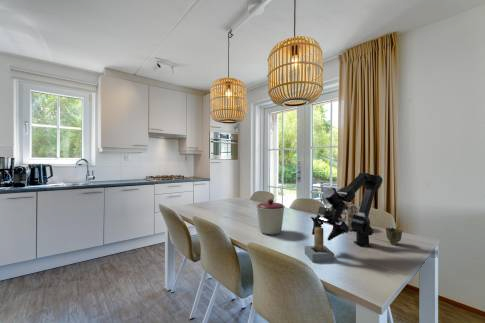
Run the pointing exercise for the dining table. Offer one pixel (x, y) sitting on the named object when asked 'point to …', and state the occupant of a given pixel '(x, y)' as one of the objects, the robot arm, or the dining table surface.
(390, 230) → the cup
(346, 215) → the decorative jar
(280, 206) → the canister
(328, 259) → the socket block
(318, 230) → the walnut dowel
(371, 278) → the dining table surface
